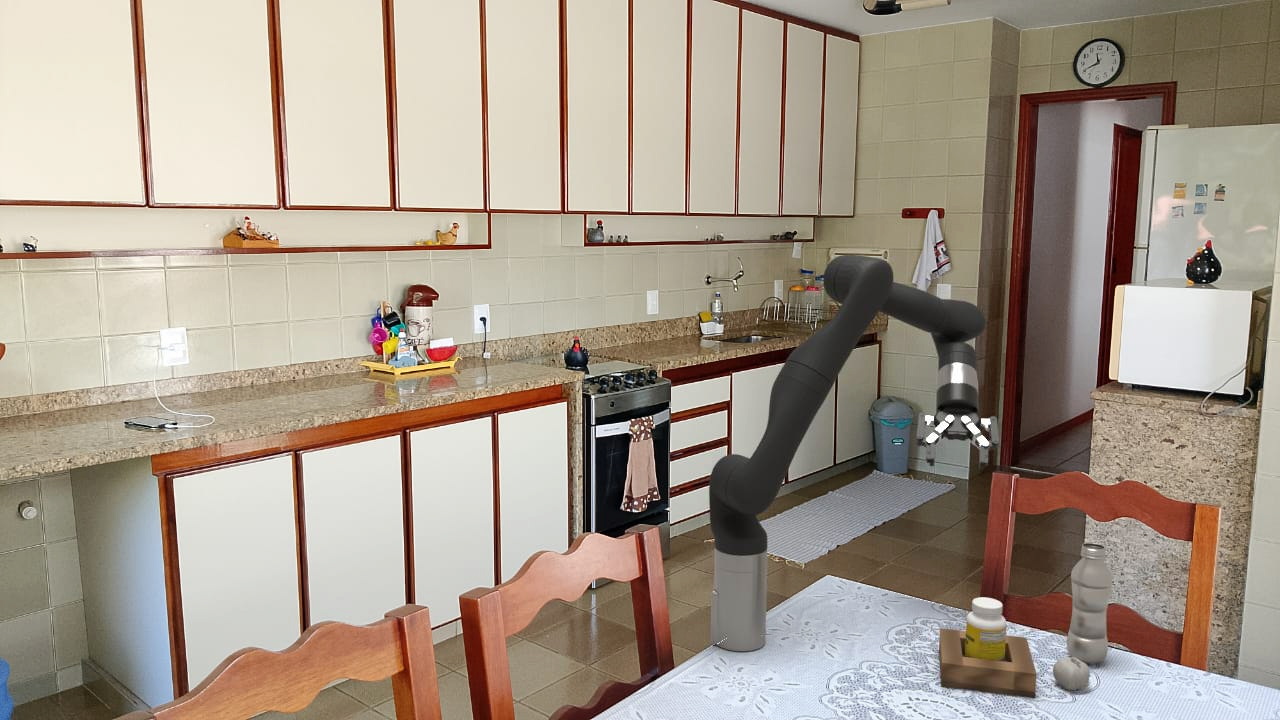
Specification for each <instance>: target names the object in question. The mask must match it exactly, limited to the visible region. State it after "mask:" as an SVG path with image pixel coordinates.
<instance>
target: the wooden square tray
mask: <svg viewBox="0 0 1280 720" xmlns="http://www.w3.org/2000/svg"><path fill="white" fill-rule="evenodd" d="M938 641H939V642H938V657H939V659H938V660H939V672H940V673H939V677H940V687H942V688H948V689H949V688H951V689H958V690H966V691H975V692H980V693H983V692H984V693H990V694H998V695H1005V696H1006V695H1007V696H1015V697H1023V698H1030V699H1036V688H1037V671H1036V667H1035V665H1034V659H1033V656H1032V652H1031V650H1030V649H1031V648H1030V646H1029V642H1028V641H1029V640H1028V639H1027V637H1024V636H1015V635H1014V636H1013V635H1007V634H1006V643H1005V661H1004V662H1003V661H995V660H986V659H977V658H969V657H965V642H966V630H962V629H961V630H960V629H950V628H943V627H941V628H939V640H938Z"/></svg>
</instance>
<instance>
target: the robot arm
mask: <svg viewBox="0 0 1280 720" xmlns="http://www.w3.org/2000/svg"><path fill="white" fill-rule="evenodd" d="M822 278H823V279H822V281H823V282H822V283H823V288H824V290H825V292H826V294H827V296H828V297H829V298H830V300H831V299H832V300H833V301H834V302H835V303H838V304H840V306H839V308H838V310H837V312H836V313H835V315H833V317H832V318H831V320H829V321H828V322H827V323H826V324H825V325H824V326H823V327H821V328H820V329H819V330H818V331H816V332H815V333H813V334H812V335H810V336H809V337H808V338H807V339H805V340H804V341H803V342H802V343H800V344H799V345H798V346H797V347H795V349H794V350H792V352H791V353H790V354H789V356H788V357H787V358H786V360H785V362H784V364H783V366H782V367H781V369H780V370H779V372H778V375H777V376H776V378H775V379H774V382H773V384H772V388H771V391H770V395H769V396H770V397H769V404H768V405H769V406H768V417H767V422H766V423H767V424H766V428H765V430H764V434H763V435H762V438H761V440H760V441H759V443H758V446H757V447H756V448H755V450H754V452H753V453H752V455H751V456H750V457H747V456H744V455H740V454H737V453H735V454H734V453H731V454H727V455H724V456H722V457H721V458H720V459H718V461H716V463H715V464H714V466H713V468H712V470H711V473H710V477H709V485H708V488H709V489H708V495H709V496H708V498H709V499H708V501H709V502H708V503H709V504H708V505H709V525H710V530H711V533H712V536H713V538H714V567H713V568H714V569H713V570H714V572H713V573H714V574H713V575H714V576H713V579H714V580H713V582H714V583H713V589H712V590H711V595H710V597H711V598H710V599H711V600H710V601H711V602H710V605H711V606H710V645H714V646H718V647H720V648H722V649H725V650H729V651H732V652H733V651H735V652H751V651H755V650H759V649H761V648H762V647H764V646H765V644H766V635H767V628H766V627H767V589H768V584H767V583H768V582H767V581H768V579H767V578H768V534H767V532H766V530H765V528H764V527H763V525H762V524H761V523H760V521H759V518H758V517H757V516H758V515H760V514H762V513H764V512H765V511H767V510H768V508H769V507H770V506H771V505H772V504H773V502H774V501H775V499H776V498H777V495H778V494H779V492H780V490H781V487H782V485H783V483H784V481H785V478H786V476H787V474H788V471H789V469H790V466H791V464H792V461H793V460H794V457H795V455H796V453H797V451H798V450H799V447H800V445H801V443H802V441H803V439H804V438H805V436H806V434H807V432H808V430H809V428H810V427H811V424H812V422H813V420H814V419H815V417H816V415H817V414H818V412H819V410H820V409H821V407H822V405H823V404H824V402H825V400H826V398H827V397H828V395H829V393H830V392H831V389H832V387H834V384H835V382H836V380H837V379H838V377H839V374H840V373H841V371H842V369H843V368H844V366H845V364H846V362H847V361H848V359H849V358H850V355H851V354H852V352H853V351H854V349H855V348H856V346H857V344H858V342H859V341H860V340H861V338H862V336H863V335H864V334H865V332H866V330H868V328H869V326H870V325H871V323H872V322H873V321H874V319H875V318H876V316H877V315H878V314H879V313H882V314H885V315H887V316H889V317H891V318H893V319H896V320H898V321H900V322H903V323H905V324H907V325H908V326H911V327H914V328H916V329H918V330H921V331H923V332H925V333H929V334H930V336H931V338H932V341H933V343H934V346H935V350H936V353H937V357H938V366H937V367H938V370H937V371H938V372H937V373H938V374H937V379H936V390H935V391H936V392H935V393H936V397H935V398H936V400H935V401H936V405H935V409H936V410H935V414H934V416H931V415H926V413H925V412H923V411H921V412H919V414H918V421H917V431H916V440H915V441H916V442H915V443H916V446H918V447H922V446H923V447H924V448H925V462H926V463H927V464H929V467H934V466H935V447H936V446H937V445H938V444H940V443H941V442H942V441H943V440H944V439H945V438H946V439H947V440H949V441H953V440H954V441H956V440H958V441H963V442H964V441H965V442H966V440H968V441H969V442H970V443H971V444H972V445H973V446H975V447H976V449H978V450H979V452H978V454H979V455H978V457H979V459H978V461H979V462H978V464H979V466H978V467H979V470H982V471H984V469H985V468H987V467H988V463H989V452H990V451H994V452H995V451H996V452H997V451H998V449H999V443H1000V437H999V427H998V426H999V424H998V419H997V418H998V417H996V416H994V415H992V416H990V417H989V418H981V417H980V414H979V381H978V372H977V371H978V368H977V352H976V350H975V348H974V347H973V346H972V345H971V344H969V343H967V342H969V341H971V340H973V339H975V338H978V337H979V336H981V335H982V334H983V333H984V331H985V330H986V326H987V318H986V316H985V314H984V312H983V311H982V310H981V309H980V308H979V307H978V306H977V305H975V304H974V303H971V302H968V301H965V300H960V299H959V300H957V299H951V298H950V299H949V298H945V299H944V298H940V297H939V296H937V295H935V294H931V293H930V292H928V291H925V290H923V289H920V288H917V287H913V286H909V285H908V284H907V285H906V284H904V283H899V282H895V281H894V270H893V268H892V266H891V264H890V263H889V262H888V261H886V260H885V259H882V258H878V257H871V256H867V255H866V256H865V255H858V254H842V255H838V256H836V257H834V258H833V259H831V260H830V261H829V263H828V264H827V266H826V267H825V270H824V273H823V277H822ZM930 425H933V426H934V427H935V429H934V430H933V432H932V433H931V434H930V435H929V436H928V437H927V436H925V429H927V428H929V427H930ZM981 427H983V428H984V430H985V431H986V432H988V433H989V440H987V439H986V437H985V436H983V434H982V432H981V431H980V428H981ZM726 638H727V639H726ZM724 639H725V640H724ZM722 640H723V641H722ZM721 641H722V642H721ZM719 642H720V643H719ZM717 643H719V644H717ZM715 644H717V645H715ZM719 645H720V646H719Z"/></svg>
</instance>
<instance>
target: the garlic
mask: <svg viewBox="0 0 1280 720" xmlns="http://www.w3.org/2000/svg"><path fill="white" fill-rule="evenodd" d="M1052 674H1053V678H1054V679H1055V681H1056V682H1057V683H1058V684H1060V685H1061V686H1062V687H1063V688H1065V689H1067V690H1068V691H1074V690H1080V689H1083V688H1084V687H1087V685H1088V684H1089V679H1090V674H1091V672H1090V668H1089V666H1088V664H1087V663H1084V662H1082V661H1080V660H1079V659H1077V658H1075V657H1071V656H1070V657H1069V656H1067V657H1061V658H1058V659H1057V660H1056V661H1055V663H1054V664H1053V667H1052Z"/></svg>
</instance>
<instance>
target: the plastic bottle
mask: <svg viewBox="0 0 1280 720" xmlns="http://www.w3.org/2000/svg"><path fill="white" fill-rule="evenodd" d="M1080 556H1081V557H1082V558H1081V559H1080V560H1079V561H1078V562H1077V563H1076V564H1075V565H1074V567H1072V569H1071V574H1070V577H1071V578H1070V579H1071V582H1070V583H1071V592H1072V614H1071V619H1070V627H1069V629H1068V633H1067V637H1066V643H1065V644H1066V649H1067V650H1066V651H1067V653H1068V655H1069V656H1070V658H1071V657H1075V658H1077V659H1079V660H1080V661H1082V662H1084V663H1085V664H1094V665H1097V664H1100V663H1103V662H1104V660H1106V658H1107V655H1108V652H1109V641H1108V636H1107V612H1108V611H1107V610H1108V604H1109V598H1110V594H1111V590H1112V585H1113V576H1112V572H1111V571H1110V568H1109V566H1108V565H1107V564H1106V563H1105V562H1104V560H1106V546H1105V545H1103V544H1100V543H1096V542H1095V543H1094V542H1085V543H1084V542H1083V543H1082V545H1081V551H1080Z"/></svg>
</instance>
